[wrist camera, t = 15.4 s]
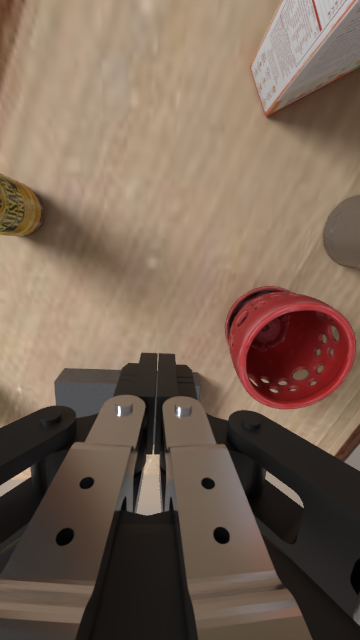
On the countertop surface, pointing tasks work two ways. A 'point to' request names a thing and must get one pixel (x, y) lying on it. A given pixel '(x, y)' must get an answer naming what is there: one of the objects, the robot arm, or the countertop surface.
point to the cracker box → (306, 50)
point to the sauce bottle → (18, 208)
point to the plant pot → (288, 346)
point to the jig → (93, 390)
